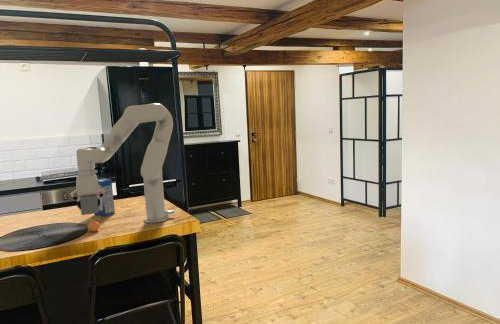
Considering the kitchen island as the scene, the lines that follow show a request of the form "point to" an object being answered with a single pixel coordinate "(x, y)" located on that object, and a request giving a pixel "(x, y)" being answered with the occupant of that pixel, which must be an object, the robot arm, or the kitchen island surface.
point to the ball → (94, 226)
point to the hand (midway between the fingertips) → (89, 207)
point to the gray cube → (89, 204)
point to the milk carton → (106, 198)
